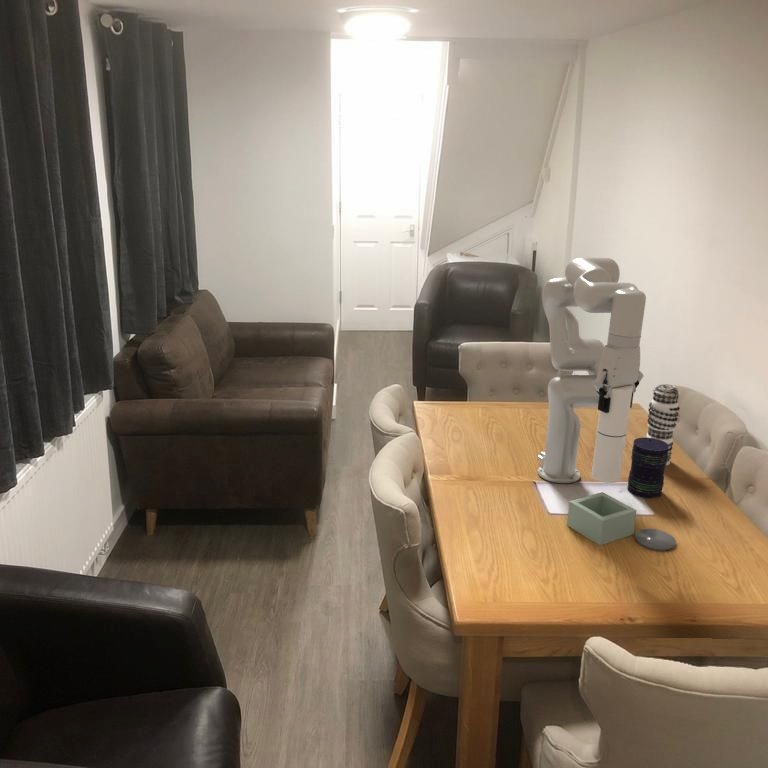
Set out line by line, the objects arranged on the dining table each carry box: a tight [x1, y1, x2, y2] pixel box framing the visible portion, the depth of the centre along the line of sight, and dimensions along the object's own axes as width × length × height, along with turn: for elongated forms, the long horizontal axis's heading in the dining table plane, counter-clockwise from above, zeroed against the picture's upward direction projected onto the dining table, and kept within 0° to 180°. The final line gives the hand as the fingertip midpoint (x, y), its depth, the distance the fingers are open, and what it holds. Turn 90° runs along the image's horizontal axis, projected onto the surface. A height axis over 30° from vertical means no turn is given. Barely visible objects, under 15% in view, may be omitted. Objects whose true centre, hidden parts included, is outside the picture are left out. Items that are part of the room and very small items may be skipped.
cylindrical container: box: [591, 383, 633, 484], centre depth 198 cm, size 7×7×25 cm
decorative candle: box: [645, 383, 681, 467], centre depth 247 cm, size 9×9×25 cm
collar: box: [566, 491, 637, 546], centre depth 205 cm, size 12×12×7 cm
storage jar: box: [626, 437, 669, 500], centre depth 227 cm, size 10×10×15 cm
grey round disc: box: [634, 528, 677, 552], centre depth 201 cm, size 10×10×1 cm
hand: (614, 408), depth 196 cm, fingers closed on cylindrical container, 7 cm apart
